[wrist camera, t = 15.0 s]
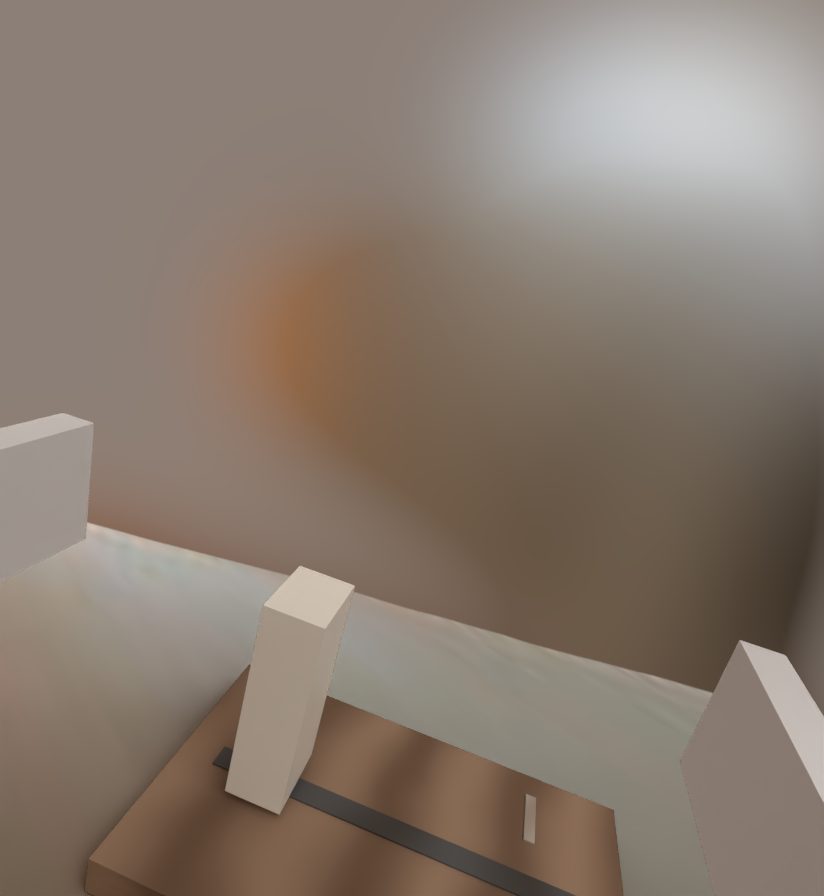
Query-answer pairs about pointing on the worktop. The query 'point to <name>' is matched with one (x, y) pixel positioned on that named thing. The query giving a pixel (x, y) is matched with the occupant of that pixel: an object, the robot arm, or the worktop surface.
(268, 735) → the fader tab
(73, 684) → the worktop surface
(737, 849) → the robot arm
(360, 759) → the board
